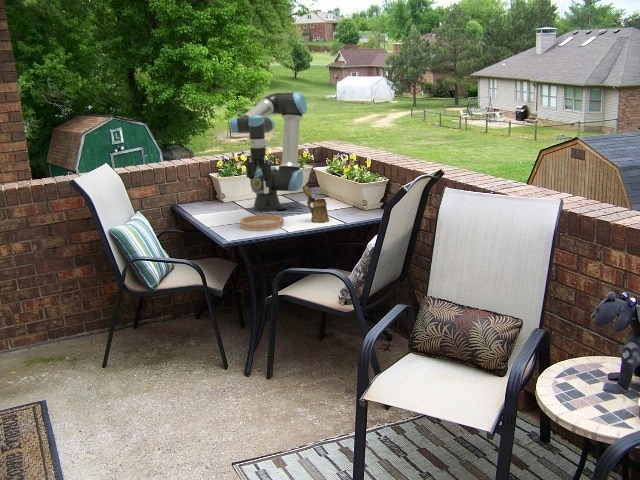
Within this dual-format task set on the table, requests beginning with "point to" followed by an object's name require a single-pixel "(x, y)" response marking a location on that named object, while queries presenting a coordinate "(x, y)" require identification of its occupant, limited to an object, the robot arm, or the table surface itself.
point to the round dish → (261, 222)
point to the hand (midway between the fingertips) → (260, 192)
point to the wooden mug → (317, 208)
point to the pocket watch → (254, 183)
